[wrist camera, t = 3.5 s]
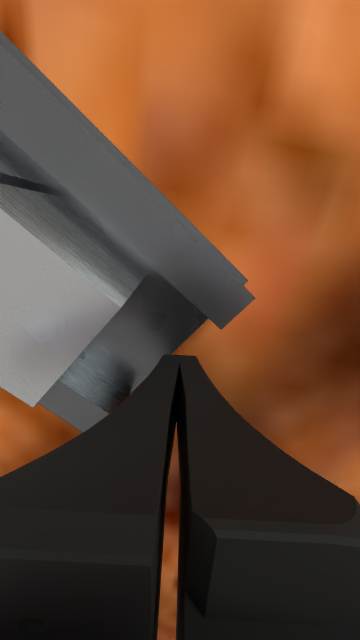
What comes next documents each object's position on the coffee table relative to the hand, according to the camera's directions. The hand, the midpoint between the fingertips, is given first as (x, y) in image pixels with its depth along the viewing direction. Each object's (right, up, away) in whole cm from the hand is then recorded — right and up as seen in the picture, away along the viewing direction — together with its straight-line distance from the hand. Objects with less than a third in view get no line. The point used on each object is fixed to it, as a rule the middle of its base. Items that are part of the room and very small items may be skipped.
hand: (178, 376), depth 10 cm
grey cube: (-4, +4, 0) cm, 6 cm away
